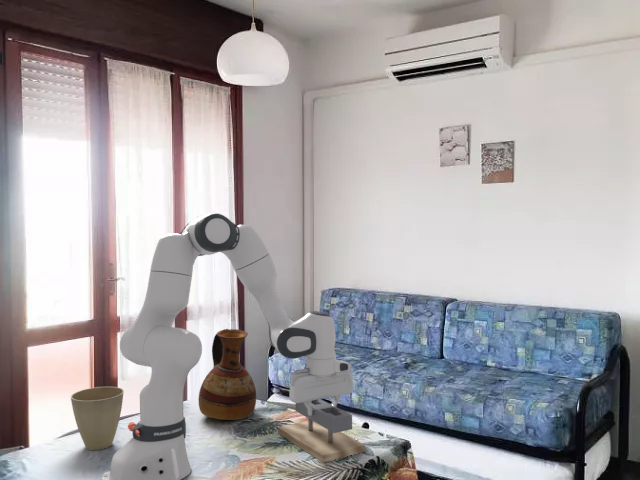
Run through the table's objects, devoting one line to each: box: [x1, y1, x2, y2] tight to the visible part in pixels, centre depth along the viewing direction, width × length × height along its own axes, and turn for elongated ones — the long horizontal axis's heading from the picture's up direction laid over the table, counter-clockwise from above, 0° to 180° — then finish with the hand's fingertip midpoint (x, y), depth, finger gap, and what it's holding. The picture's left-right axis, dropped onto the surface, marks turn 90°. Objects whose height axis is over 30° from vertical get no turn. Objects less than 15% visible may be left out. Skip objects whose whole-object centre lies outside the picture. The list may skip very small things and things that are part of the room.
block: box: [295, 399, 353, 433], centre depth 174 cm, size 6×23×4 cm, turn 30°
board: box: [277, 418, 367, 464], centre depth 176 cm, size 14×28×7 cm, turn 30°
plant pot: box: [70, 386, 124, 451], centre depth 177 cm, size 15×15×16 cm
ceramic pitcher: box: [198, 328, 257, 421], centre depth 203 cm, size 20×20×30 cm
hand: (322, 412), depth 174 cm, fingers closed on block, 6 cm apart
